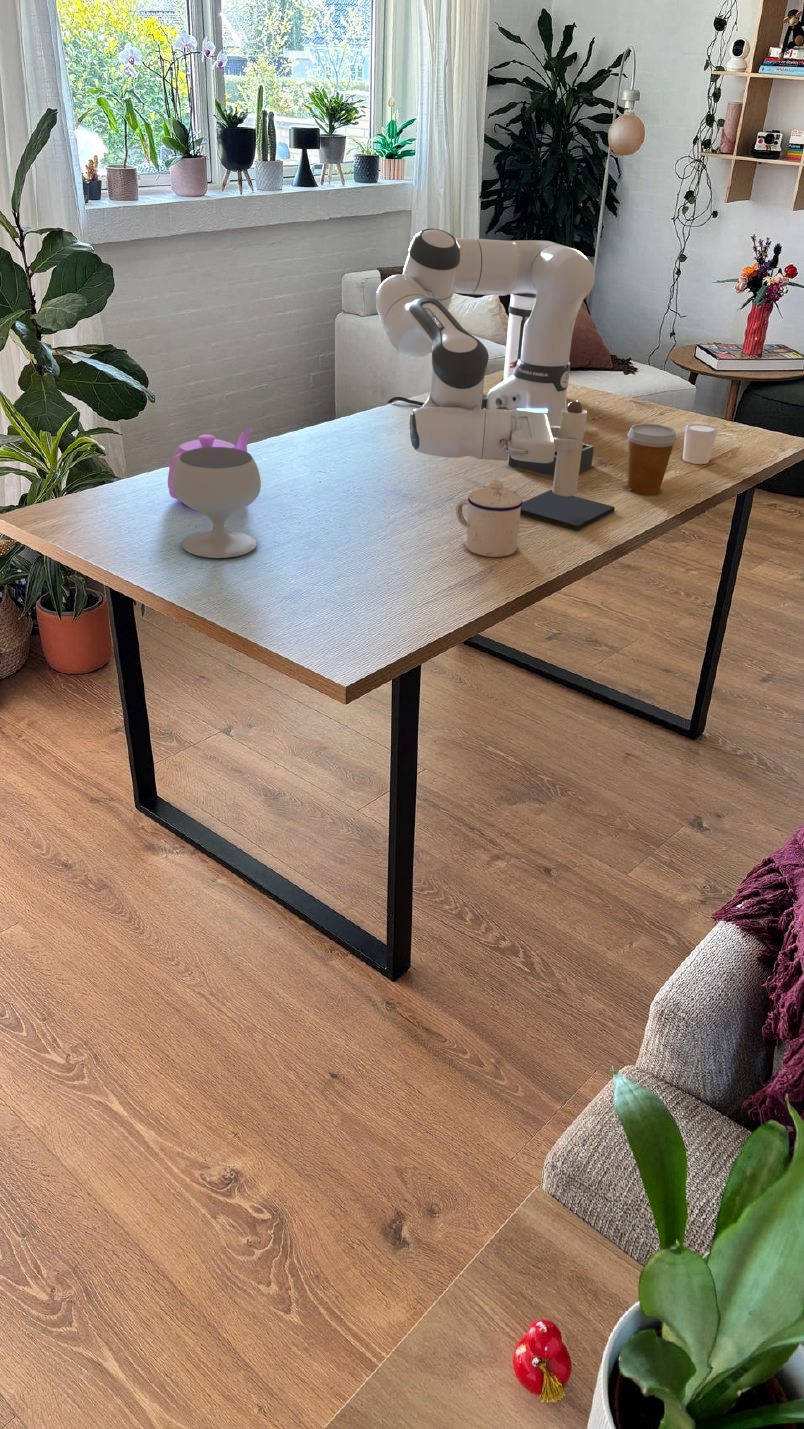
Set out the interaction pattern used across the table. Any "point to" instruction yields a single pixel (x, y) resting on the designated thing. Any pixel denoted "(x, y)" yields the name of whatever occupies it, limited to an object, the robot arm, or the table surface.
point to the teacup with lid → (491, 520)
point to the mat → (565, 510)
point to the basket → (554, 462)
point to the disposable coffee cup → (648, 456)
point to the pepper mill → (570, 459)
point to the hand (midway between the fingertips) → (576, 439)
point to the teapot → (202, 443)
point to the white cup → (698, 443)
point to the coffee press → (517, 327)
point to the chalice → (217, 496)
